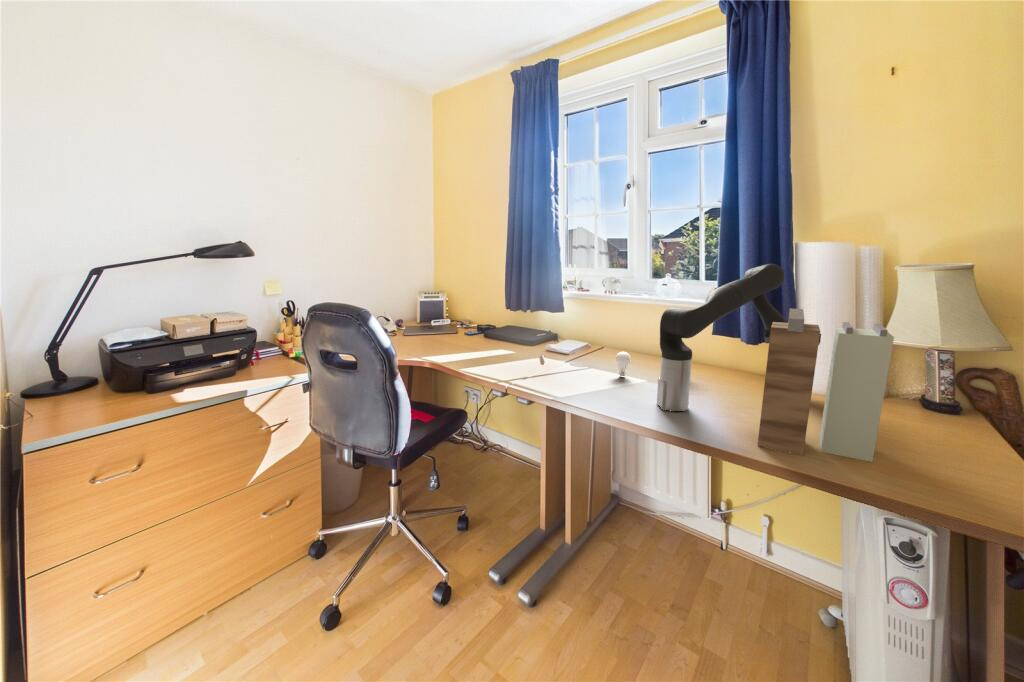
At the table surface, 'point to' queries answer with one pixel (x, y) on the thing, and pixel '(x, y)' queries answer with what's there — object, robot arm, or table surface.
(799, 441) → the walnut stand
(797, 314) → the axle bar
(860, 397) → the cradle stand
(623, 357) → the lightbulb
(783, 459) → the table surface
